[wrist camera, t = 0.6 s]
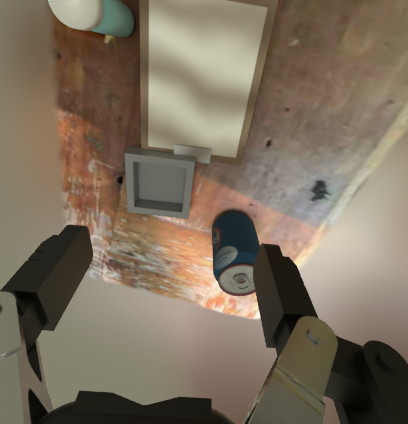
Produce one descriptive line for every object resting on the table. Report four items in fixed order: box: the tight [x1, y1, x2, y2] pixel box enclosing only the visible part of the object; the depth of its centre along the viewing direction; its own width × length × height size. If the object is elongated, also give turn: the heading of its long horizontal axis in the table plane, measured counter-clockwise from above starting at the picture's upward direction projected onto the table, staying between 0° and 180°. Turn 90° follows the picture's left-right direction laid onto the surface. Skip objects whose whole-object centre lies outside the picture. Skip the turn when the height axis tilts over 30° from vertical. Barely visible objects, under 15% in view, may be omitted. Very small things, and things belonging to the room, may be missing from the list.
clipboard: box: [139, 0, 279, 165], centre depth 28 cm, size 18×14×1 cm
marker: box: [48, 0, 135, 38], centre depth 21 cm, size 3×3×12 cm
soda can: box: [212, 212, 260, 296], centre depth 35 cm, size 7×7×12 cm
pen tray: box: [125, 146, 196, 219], centre depth 34 cm, size 9×9×3 cm
